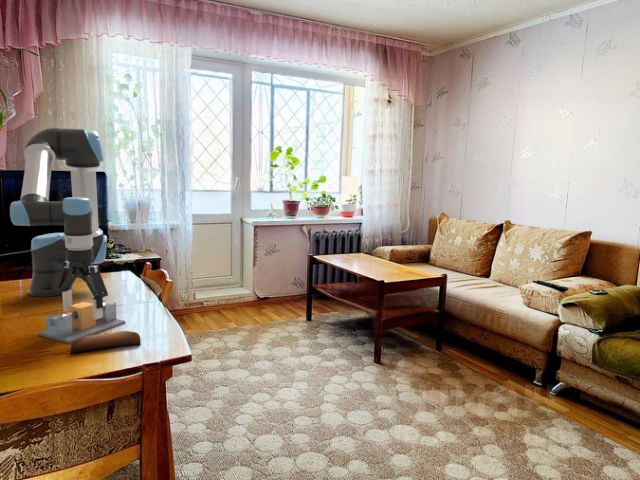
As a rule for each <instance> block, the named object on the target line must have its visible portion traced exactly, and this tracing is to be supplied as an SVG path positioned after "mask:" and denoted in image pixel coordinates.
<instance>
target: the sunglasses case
mask: <svg viewBox="0 0 640 480" xmlns="http://www.w3.org/2000/svg"><path fill="white" fill-rule="evenodd" d="M141 341H142V340H141V336H140V334H139V333H138V332H136V331H130V330H129V331H128V330H121V331H115V332H111V333H104V334H103V333H102V334H100V333H98V334H95V335H89V336H85V337H82V338H79V339H77V340H75V341H73V342H72V343H70V354H71V355H72V354H75V353H82V352H88V351H90V350H92V351H93V350H95V349H96V350H97V349H103V348H113V347H119V346H120V347H121V346H127V345H140V343H141Z"/></svg>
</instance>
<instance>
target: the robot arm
mask: <svg viewBox="0 0 640 480" xmlns="http://www.w3.org/2000/svg"><path fill="white" fill-rule="evenodd" d="M102 148H103V147H102V143H101V137H100V135H99V132H98V131H96V130H91V129H85V128H84V129H82V128H78V129H77V128H59V127H50V128H49V127H48V128H45V129H42V130H40V131H38V132H37V133H35V134H34V135H33V136H31V137H30V139H28V141H27V142H26V144H25V146H24V149H23V150H24V151H23V156H24V159H25V160H26V161H25V167H24V173H23V180H22V181H23V182H22V187H21V192H20V193H21V195H20V200H17V201H16V200H15V201H12V202H11V203H10V206H9V216H10V221H11V223H12V224H13V225H14V226H20V227H21V226H23V227H24V226H25V227H26V226H27V227H31V226H32V227H35V226H38V227H39V226H63V228H64V232H53V233H46V234H42V235H41V234H40V235H37V236H35V237H33V238H32V239H31V242H30V243H31V244H30V246H31V247H30V251H31V265H32V278H31V280H30V284H29V286H28V293H29V294H28V295H30V296H33V297H41V298H43V297H44V298H45V297H55V296H61V298H62V299H61V300H62V308H63V311H62V312H63V313H68V312H70V306H71V305H74V304H73V290H74V288H73V287H74V285H73V284H74V283H75V281H76V279H77V278H78V279H80V280H81V279H82V281H83V282H85V284H86V286H87V287H88V289H89V290H90V292H91V294H92V296H93V298H92V304H93V319H95V320H96V319H99V318H102V317H103V311H102V308H103V300H104V298H105V297H108V296H109V292H108V290H107V287H106V285H105V282H104V279H103V277H102V274H101V269H100V266H99V264H102V263H104V261H105V259H106V253H107V244H108V243H107V242H108V237H107V235H105V234H104V231H103V230H102V229H101V228H99V227H100V226H99V208H98V192H97V191H98V190H97V189H98V188H97V171H96V170H97V169H98V168H99V167H100V165H101V163H102V162H104V160H105V159H104V154H103V153H104V152H103V149H102ZM55 161H65V166H66V167H67V168H68V169H69V170H70V180H71V193H72V194H71V195H72V197H65V198H63V199H62V200H57V201H54V200H53V201H49V200H50V186H51V176H52V165H53V163H54V162H55ZM95 264H96V265H95ZM97 264H98V265H97Z"/></svg>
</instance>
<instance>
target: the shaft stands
mask: <svg viewBox="0 0 640 480" xmlns="http://www.w3.org/2000/svg"><path fill="white" fill-rule="evenodd" d="M102 311H103V317H102V318H99V319H96V320H98V321H102V322H109V321H112V320H115V319H118V318H117V303H116V302H112V301H111V300H104V299H103V308H102ZM73 319H74V315H73V314H72V313H71V312H70V311H69V312H66V313H64V314H63V313H54V314H50V315H48V316H45V330H46V333H47V335H49V336H53V337H57V338H63V337H66V336H69V335H72V334H73V332H72V320H73Z"/></svg>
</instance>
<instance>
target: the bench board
mask: <svg viewBox="0 0 640 480" xmlns="http://www.w3.org/2000/svg"><path fill="white" fill-rule="evenodd" d="M123 323H125V324H126V320H123V319H119V318H117V319H115V320H112V321H109V322H102V321H98V320H96V326H93V327H90V328H87V329H84V330H79V329H75V328H72V332H73V334H72V335H69V336H66V337H63V338H57V337H53V336H49V335H47V333H46V329H44V330H42V331H39V332H38V333H37V335H38V336H41V337H43V338H48V339H52V340H56V341H59V342H62V343H66V344H70V345H71V344H72V342H73V341H75V340H77V339H79V338H82V337H85V336H89V335H98V334H100V333H103V332H105V331H109V330H111V329H115V328H116V326H117V327H119V326H122V325H124V324H123ZM121 324H122V325H121Z"/></svg>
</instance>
